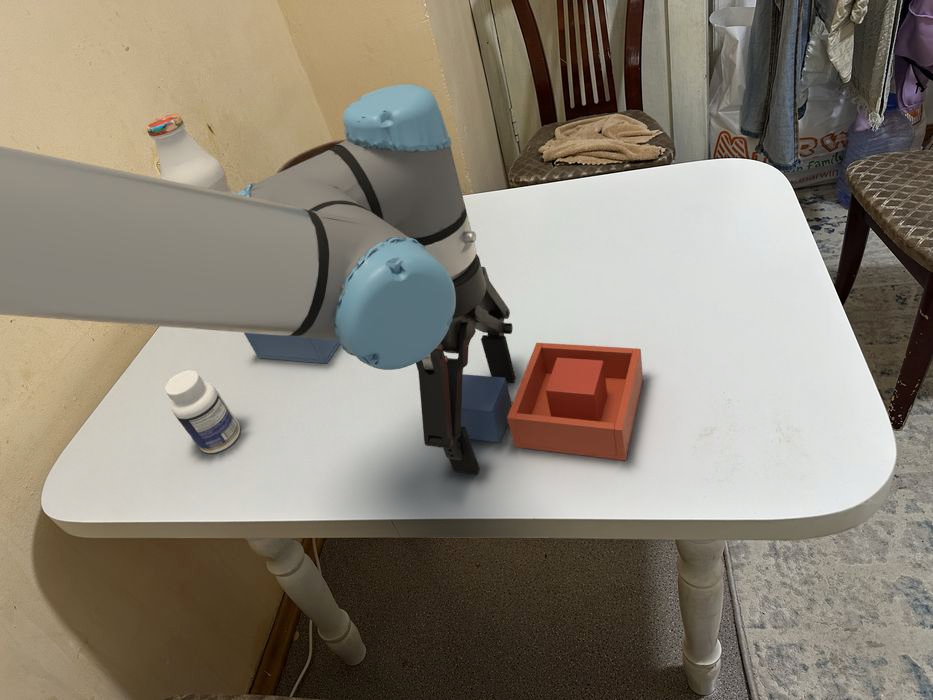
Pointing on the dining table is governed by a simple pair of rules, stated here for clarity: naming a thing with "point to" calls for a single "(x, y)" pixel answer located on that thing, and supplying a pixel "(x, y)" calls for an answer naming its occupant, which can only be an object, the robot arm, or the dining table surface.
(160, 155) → the fruit juice
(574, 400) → the red block
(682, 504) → the dining table surface
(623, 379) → the red bin
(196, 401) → the pill bottle
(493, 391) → the blue block
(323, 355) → the blue bin
